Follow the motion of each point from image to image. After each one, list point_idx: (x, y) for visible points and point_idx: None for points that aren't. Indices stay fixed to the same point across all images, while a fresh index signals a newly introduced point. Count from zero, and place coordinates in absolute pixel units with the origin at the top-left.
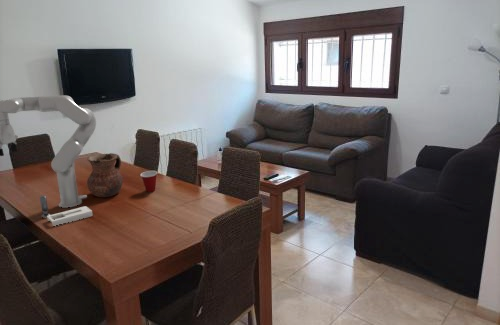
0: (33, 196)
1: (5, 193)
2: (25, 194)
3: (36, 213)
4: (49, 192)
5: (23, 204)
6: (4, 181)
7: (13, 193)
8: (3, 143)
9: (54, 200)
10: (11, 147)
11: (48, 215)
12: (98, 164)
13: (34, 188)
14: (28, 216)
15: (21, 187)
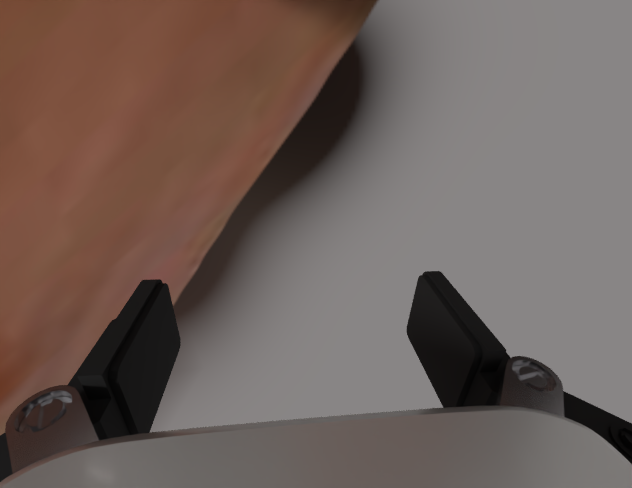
0: (125, 204)
1: None
2: (117, 256)
3: (315, 18)
4: (47, 165)
5: (223, 175)
6: None
7: None
8: (591, 432)
9: (135, 45)
10: (158, 392)
11: None
12: None
13: (38, 274)
14: (352, 35)
15: (56, 329)
